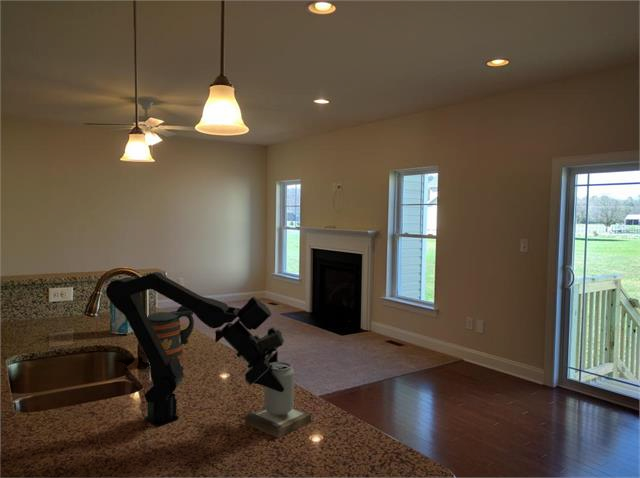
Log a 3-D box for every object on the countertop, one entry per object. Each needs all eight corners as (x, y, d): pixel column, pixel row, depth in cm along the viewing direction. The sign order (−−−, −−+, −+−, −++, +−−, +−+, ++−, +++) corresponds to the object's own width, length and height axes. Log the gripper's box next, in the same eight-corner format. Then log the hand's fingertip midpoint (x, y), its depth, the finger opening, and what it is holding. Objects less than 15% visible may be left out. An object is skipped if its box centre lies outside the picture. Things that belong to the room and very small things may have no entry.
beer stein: (185, 349, 185) (185, 299, 184) (199, 358, 173) (199, 305, 172) (136, 357, 173) (135, 304, 172) (147, 368, 162) (147, 311, 161)
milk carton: (110, 333, 206) (109, 278, 205) (124, 329, 215) (123, 275, 214) (127, 335, 204) (126, 279, 202) (140, 331, 212) (140, 276, 211)
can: (280, 419, 116) (281, 371, 115) (258, 410, 120) (259, 365, 119) (299, 409, 122) (300, 364, 121) (277, 402, 126) (278, 358, 125)
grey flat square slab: (278, 438, 112) (278, 427, 112) (245, 423, 120) (245, 413, 120) (310, 421, 121) (311, 412, 121) (278, 409, 129) (278, 399, 129)
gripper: (259, 329, 110) (304, 376, 111) (270, 313, 129) (309, 353, 129) (226, 360, 111) (271, 408, 111) (241, 340, 130) (280, 380, 130)
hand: (284, 385), depth 120 cm, fingers closed on can, 7 cm apart
